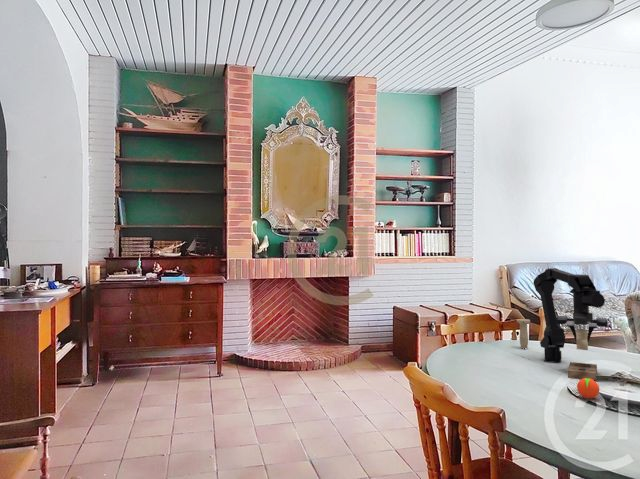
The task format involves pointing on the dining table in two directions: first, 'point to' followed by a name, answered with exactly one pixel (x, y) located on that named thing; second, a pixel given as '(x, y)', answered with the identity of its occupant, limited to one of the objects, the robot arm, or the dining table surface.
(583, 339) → the peg
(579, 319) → the robot arm
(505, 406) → the dining table surface
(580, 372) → the socket block
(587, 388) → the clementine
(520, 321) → the handle
